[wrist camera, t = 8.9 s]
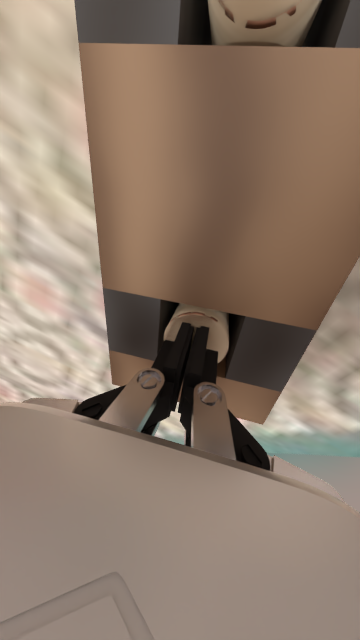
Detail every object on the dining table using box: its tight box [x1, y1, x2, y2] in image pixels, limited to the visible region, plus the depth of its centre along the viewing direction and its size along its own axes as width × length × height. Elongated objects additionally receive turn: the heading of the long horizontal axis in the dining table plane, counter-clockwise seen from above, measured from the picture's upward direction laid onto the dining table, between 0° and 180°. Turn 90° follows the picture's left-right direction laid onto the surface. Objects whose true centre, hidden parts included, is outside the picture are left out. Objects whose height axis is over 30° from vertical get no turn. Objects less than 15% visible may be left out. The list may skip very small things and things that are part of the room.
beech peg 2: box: [208, 0, 322, 47], centre depth 8 cm, size 4×4×8 cm
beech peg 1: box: [164, 303, 229, 364], centre depth 15 cm, size 4×4×8 cm
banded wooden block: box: [75, 0, 360, 424], centre depth 12 cm, size 12×26×8 cm, turn 173°
